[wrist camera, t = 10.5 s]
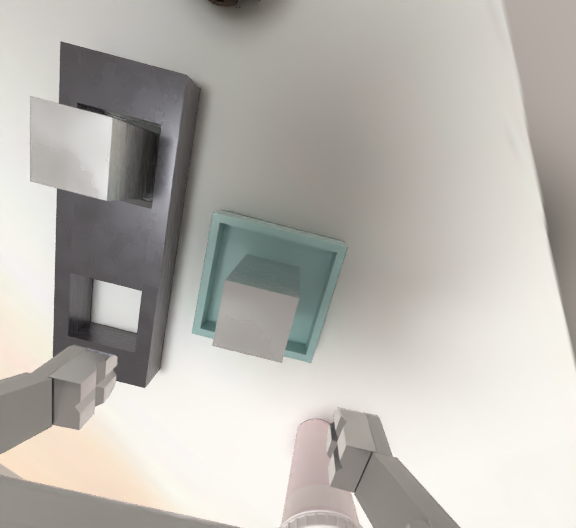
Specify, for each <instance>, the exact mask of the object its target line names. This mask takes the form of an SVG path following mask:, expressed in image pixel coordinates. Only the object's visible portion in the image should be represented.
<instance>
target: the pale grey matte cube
mask: <svg viewBox="0 0 576 528" xmlns="http://www.w3.org/2000/svg"><path fill="white" fill-rule="evenodd" d="M299 292H300V267H296V266H292V265H288V264H284V263H280V262H276V261H272V260H268V259H264V258H260V257H256V256H252V255H248V254H246V255H245V257H244V258H243V259H242V260H241V261H240V263H239V264H238V265H237V266H236V267H235V269H234V270H233V271H232V272H231V273H230V275H229V276H228V277H227V278H226V279H225V282H224V287H223V293H222V298H221V303H220V308H219V313H218V318H217V324H216V329H215V334H214V339H213V344H212V346H216V347H220V348H224V349H228V350H232V351H236V352H240V353H244V354H248V355H253V356H257V357H261V358H265V359H269V360H273V361H277V362H281V363H282V359H283V356H284V352H285V349H286V345H287V341H288V338H289V334H290V330H291V327H292V323H293V320H294V316H295V312H296V309H297V305H298V301H299Z"/></svg>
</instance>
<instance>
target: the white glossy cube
mask: <svg viewBox="0 0 576 528" xmlns="http://www.w3.org/2000/svg"><path fill="white" fill-rule="evenodd" d="M159 141H160V135H158V134H156V133H153V132H150V131H148V130H145V129H142V128H139V127H137V126H134V125H131V124H129V123H126V122H123V121H120V120H118V119H115V118H112V117H108V116H104V115H101V114H97V113H93V112H89V111H85V110H82V109H78V108H74V107H70V106H66V105H62V104H59V103H55V102H51V101H47V100H43V99H40V98H36V97H32V96H30V181H31V182H35V183H39V184H43V185H47V186H51V187H55V188H58V189H62V190H66V191H70V192H74V193H78V194H82V195H86V196H90V197H94V198H98V199H101V200H105V201H112V200H127V199H141V198H153V193H154V184H155V176H156V167H157V159H158V150H159Z"/></svg>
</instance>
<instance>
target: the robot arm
mask: <svg viewBox="0 0 576 528" xmlns="http://www.w3.org/2000/svg"><path fill="white" fill-rule="evenodd" d="M116 366H117V356H116V355H113V354H109V353H105V352H102V351H98V350H94V349H90V348H85V347H81V346H77V345H72V346H69V347H67V348H66V349H65V350H63V351H62V352H60V353H59V354H58V355H56V356H55V357H53V358H52V359H50V360H49V361H48V362H46V363H45V364H43V365H42V366H41V367H39V368H38V369H36V370H35V371H34V372H32V373H23V374H19V375H16V376H13V377H9V378H6V379H2V380H0V454H2V453H4V452H6V451H7V450H9V449H11V448H13V447H15V446H17V445H18V444H20V443H22V442H24V441H26V440H28V439H30V438H31V437H33V436H35V435H37V434H39V433H41V432H42V431H44V430H46V429H48V428H50V427H52V425H56V426H61V427H67V428H72V429H77V430H80V429H81V428H82V426H83V425H84V424H85V423H86V422H87V421H88V420H89V419H90V418H91V416H92V415H93V414H94V409H95V407H96V406H98V405H100V404H102V403H104V402H105V401H106V399H107V398H108V397H109V396H110V394H111V392H112V390H113V388H114V386H115V382H116V374H115V372H114V371H113V369H114V368H115V367H116ZM326 451H327V455H328V457H329V458H330V459H331V460H330V462H329V465H328V472H329V482H330V487H334V488H338V489H342V490H345V491H349V492H353V493H355V496H356V498H357V500H358V501H359V503H360V505H361V507H362V508H363V510H364V512H365V514H366V515H367V517H368V519H369V521H370V522H371V524H372V526H373V528H460V527H459V526H458V525H457V523H456V522H455V521H454V520H453V519H452V518H451V517H450V516H449V515H448V514H447V512H446V511H445V510H444V509H443V508H442V507H441V506H440V505H439V504H438V502H437V501H436V500H435V499H434V498H433V497H432V496H431V495H430V494H429V493H428V491H427V490H426V489H425V488H424V487H423V486H422V485H421V484H420V483H419V482H418V480H417V479H416V478H415V477H414V476H413V475H412V474H411V473H410V472H409V470H408V469H407V468H406V467H405V466H404V465H403V464H402V463H401V462H400V461H399V459H398V458H396V457H393V456H392V453H391V450H390V447H389V444H388V441H387V438H386V435H385V432H384V429H383V426H382V423H381V421H380V418H379V417H378V416H377V415H372V414H368V413H362V412H357V411H353V410H349V409H344V408H340V407H337V409H336V410H335V413H334V422H333V423H332V424H330V426H329V429H328V433H327V439H326ZM0 528H241V527H237V526H232V525H227V524H223V523H218V522H214V521H209V520H205V519H200V518H196V517H191V516H186V515H182V514H177V513H173V512H168V511H164V510H159V509H155V508H150V507H146V506H141V505H137V504H132V503H127V502H123V501H118V500H114V499H109V498H105V497H100V496H96V495H91V494H86V493H82V492H77V491H73V490H68V489H64V488H59V487H55V486H50V485H45V484H41V483H36V482H32V481H27V480H23V479H18V478H14V477H9V476H4V475H0Z"/></svg>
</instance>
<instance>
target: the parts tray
mask: <svg viewBox="0 0 576 528" xmlns="http://www.w3.org/2000/svg"><path fill="white" fill-rule="evenodd" d="M347 248H348V247H347V245H346V244H345V243H344V242H343V241H339V240H336V239H332V238H328V237H324V236H320V235H316V234H312V233H308V232H305V231H301V230H297V229H293V228H289V227H285V226H281V225H277V224H274V223H270V222H266V221H262V220H258V219H254V218H250V217H247V216H243V215H239V214H235V213H231V212H227V211H223V210H219V211H216V212H213V216H212V221H211V227H210V233H209V238H208V244H207V250H206V256H205V261H204V267H203V273H202V278H201V284H200V290H199V295H198V301H197V307H196V312H195V318H194V324H193V329H192V333H193V334H197V335H201V336H205V337H209V338H213V339H214V334H215V329H216V324H217V318H218V313H219V308H220V303H221V298H222V293H223V287H224V282H225V279H226V278H227V277H228V276H229V275H230V273H231V272H232V271H233V270H234V269H235V267H236V266H237V265H238V264H239V263H240V261H241V260H242V259H243V258H244V257H245V255H246V254H248V255H252V256H256V257H260V258H264V259H268V260H272V261H276V262H280V263H284V264H288V265H292V266H296V267H300V292H299V301H298V305H297V309H296V312H295V316H294V320H293V323H292V327H291V330H290V334H289V338H288V341H287V345H286V349H285V352H284V356H285V357H289V358H293V359H297V360H301V361H305V362H309V363H311V361H312V358H313V355H314V352H315V349H316V346H317V342H318V339H319V336H320V333H321V330H322V327H323V324H324V320H325V317H326V314H327V311H328V308H329V305H330V301H331V298H332V295H333V292H334V289H335V286H336V282H337V279H338V276H339V273H340V270H341V267H342V264H343V260H344V257H345V254H346V251H347Z"/></svg>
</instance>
